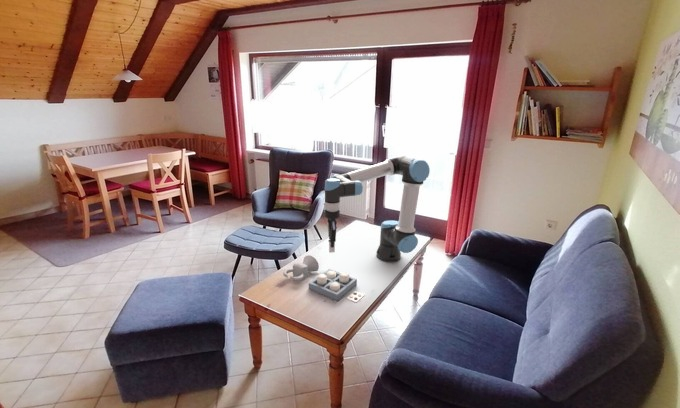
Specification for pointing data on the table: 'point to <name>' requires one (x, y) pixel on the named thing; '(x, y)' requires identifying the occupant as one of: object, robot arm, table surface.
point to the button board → (329, 293)
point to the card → (355, 296)
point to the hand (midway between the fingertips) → (331, 251)
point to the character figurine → (303, 268)
